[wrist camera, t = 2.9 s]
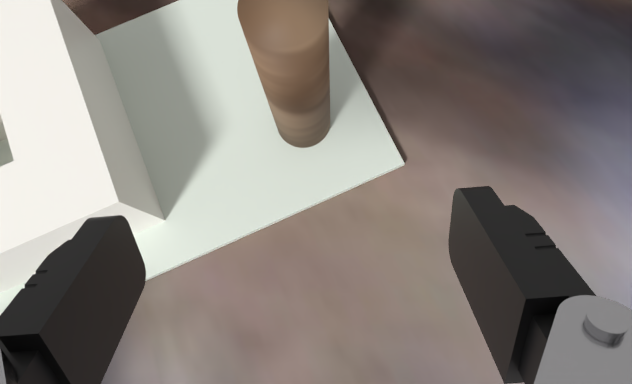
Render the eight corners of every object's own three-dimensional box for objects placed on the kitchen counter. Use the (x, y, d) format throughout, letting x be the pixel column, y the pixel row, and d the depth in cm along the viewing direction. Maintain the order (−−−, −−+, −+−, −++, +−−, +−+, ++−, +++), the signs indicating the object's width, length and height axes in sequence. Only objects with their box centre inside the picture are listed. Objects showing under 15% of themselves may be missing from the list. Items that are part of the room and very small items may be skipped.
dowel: (316, 89, 24) (305, -47, 14) (339, 134, 23) (343, 24, 14) (268, 110, 24) (223, -13, 14) (289, 156, 23) (258, 61, 13)
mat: (295, -43, 27) (294, -48, 26) (403, 165, 23) (404, 163, 23) (-104, 122, 25) (-111, 119, 25) (-50, 368, 22) (-58, 369, 21)
